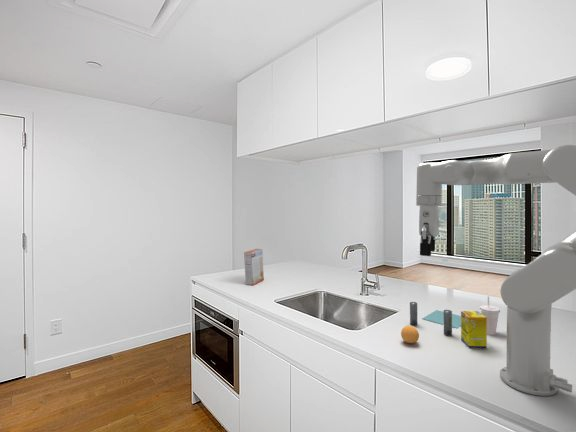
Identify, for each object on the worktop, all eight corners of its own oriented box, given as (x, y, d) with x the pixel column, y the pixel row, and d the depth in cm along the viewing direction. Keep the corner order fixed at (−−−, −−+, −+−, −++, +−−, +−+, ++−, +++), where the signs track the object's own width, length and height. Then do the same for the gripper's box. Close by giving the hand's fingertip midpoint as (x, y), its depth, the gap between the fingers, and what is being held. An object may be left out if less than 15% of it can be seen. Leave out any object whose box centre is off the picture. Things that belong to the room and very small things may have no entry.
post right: (453, 334, 117) (453, 310, 117) (450, 336, 115) (450, 312, 115) (445, 332, 119) (445, 309, 119) (442, 334, 117) (442, 311, 117)
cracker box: (256, 279, 208) (255, 248, 207) (264, 280, 206) (263, 248, 205) (244, 284, 196) (243, 251, 195) (253, 285, 193) (251, 252, 192)
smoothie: (475, 330, 120) (475, 294, 120) (491, 329, 121) (491, 293, 120) (487, 337, 114) (487, 299, 113) (504, 336, 114) (504, 298, 114)
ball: (422, 342, 111) (422, 326, 111) (414, 348, 107) (413, 331, 107) (406, 337, 116) (406, 321, 115) (397, 342, 112) (397, 326, 112)
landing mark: (470, 318, 131) (470, 318, 131) (457, 328, 122) (457, 327, 122) (436, 310, 142) (436, 310, 142) (422, 318, 133) (422, 318, 133)
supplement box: (460, 340, 112) (460, 310, 111) (478, 340, 111) (478, 310, 111) (468, 348, 106) (468, 316, 106) (487, 348, 106) (487, 317, 105)
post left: (418, 324, 127) (418, 302, 127) (415, 326, 125) (415, 304, 125) (412, 322, 129) (411, 301, 129) (408, 324, 127) (408, 302, 127)
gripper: (438, 202, 93) (436, 259, 94) (444, 200, 107) (443, 249, 108) (411, 201, 96) (410, 256, 98) (420, 200, 111) (419, 248, 112)
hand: (427, 252), depth 103 cm, fingers open, 9 cm apart
